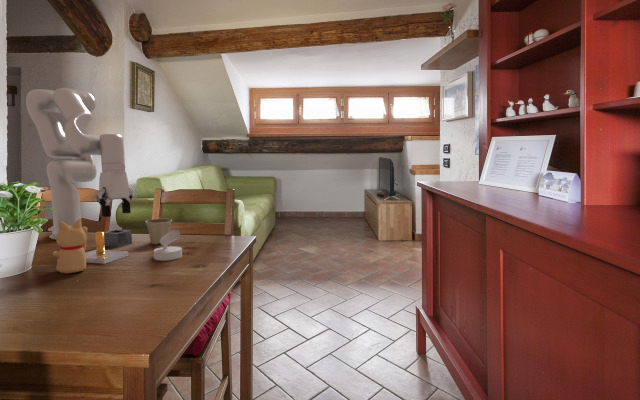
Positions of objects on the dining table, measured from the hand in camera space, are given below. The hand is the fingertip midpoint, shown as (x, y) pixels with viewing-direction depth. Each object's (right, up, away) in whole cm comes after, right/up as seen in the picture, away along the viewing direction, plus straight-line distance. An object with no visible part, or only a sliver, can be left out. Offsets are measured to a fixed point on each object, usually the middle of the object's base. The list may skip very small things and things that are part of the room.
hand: (116, 214), depth 140 cm
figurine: (+4, -15, -32) cm, 35 cm away
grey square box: (-1, -11, +1) cm, 11 cm away
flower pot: (+14, -11, +5) cm, 18 cm away
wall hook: (+26, -13, -16) cm, 33 cm away
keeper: (+5, -13, -18) cm, 23 cm away
